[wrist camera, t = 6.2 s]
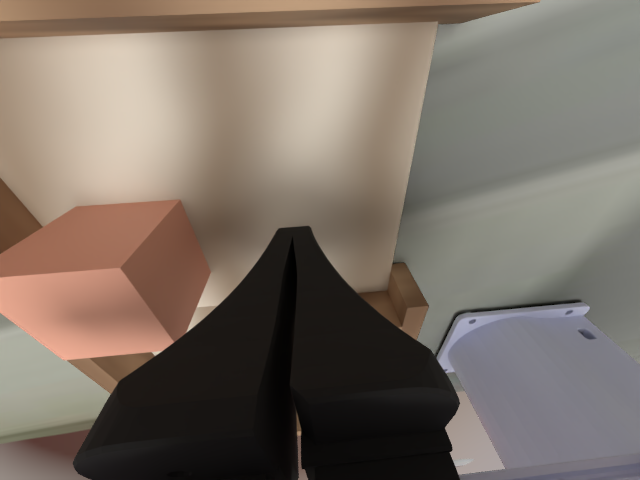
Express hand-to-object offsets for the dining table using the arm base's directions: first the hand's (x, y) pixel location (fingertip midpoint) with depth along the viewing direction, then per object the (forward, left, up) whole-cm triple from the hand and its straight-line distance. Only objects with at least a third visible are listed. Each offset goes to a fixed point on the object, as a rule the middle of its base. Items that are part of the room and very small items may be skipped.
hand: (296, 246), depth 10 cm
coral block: (+6, 0, -1) cm, 6 cm away
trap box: (+3, +6, -2) cm, 7 cm away
